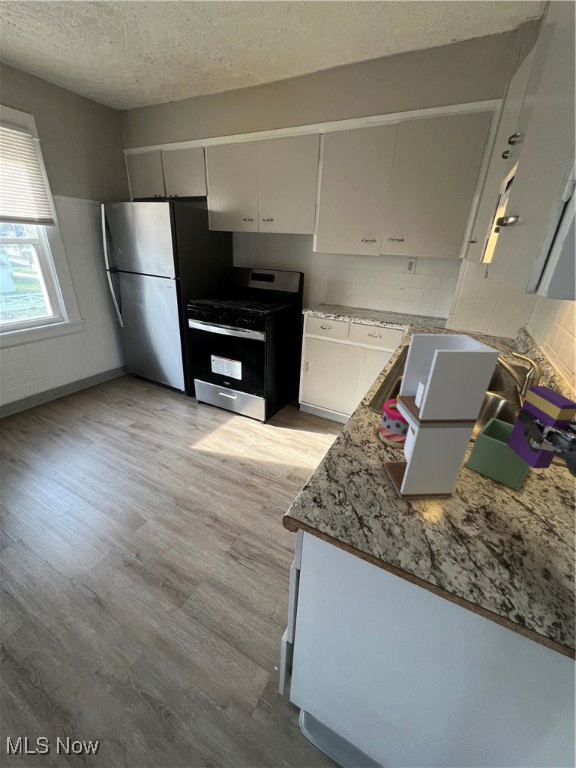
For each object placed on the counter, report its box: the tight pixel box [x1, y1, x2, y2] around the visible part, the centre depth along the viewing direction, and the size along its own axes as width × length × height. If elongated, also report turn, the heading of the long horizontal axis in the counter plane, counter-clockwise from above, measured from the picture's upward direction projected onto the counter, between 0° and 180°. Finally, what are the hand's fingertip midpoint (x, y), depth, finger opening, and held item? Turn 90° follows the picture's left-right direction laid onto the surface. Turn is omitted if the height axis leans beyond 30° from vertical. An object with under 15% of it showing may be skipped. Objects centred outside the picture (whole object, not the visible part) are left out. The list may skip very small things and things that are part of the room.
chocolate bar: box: [507, 385, 576, 469], centre depth 56 cm, size 3×7×13 cm, turn 3°
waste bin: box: [466, 417, 532, 492], centre depth 77 cm, size 11×11×11 cm
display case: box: [383, 333, 501, 500], centre depth 67 cm, size 11×11×35 cm
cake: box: [378, 393, 409, 449], centre depth 87 cm, size 10×11×15 cm
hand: (529, 413), depth 58 cm, fingers closed on chocolate bar, 3 cm apart
